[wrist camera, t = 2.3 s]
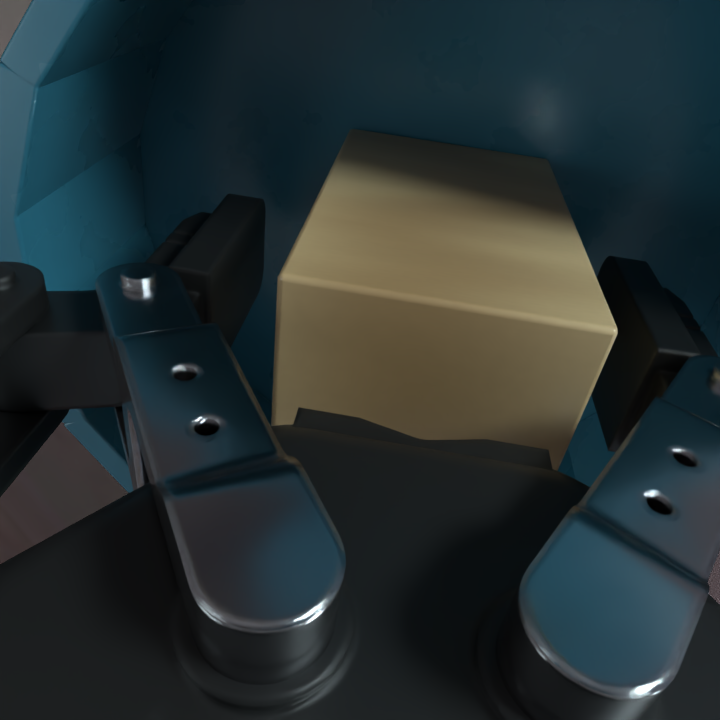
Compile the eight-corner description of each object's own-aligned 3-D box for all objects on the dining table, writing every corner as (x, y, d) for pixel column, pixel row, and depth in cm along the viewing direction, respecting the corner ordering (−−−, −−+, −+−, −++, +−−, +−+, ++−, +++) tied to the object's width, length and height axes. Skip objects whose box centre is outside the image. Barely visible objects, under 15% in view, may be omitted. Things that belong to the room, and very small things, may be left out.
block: (549, 158, 13) (621, 331, 8) (499, 327, 16) (525, 550, 10) (349, 127, 13) (275, 274, 8) (331, 299, 16) (266, 505, 10)
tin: (960, 91, 12) (1255, 189, 8) (511, 517, 21) (527, 681, 16) (257, -404, 10) (87, -690, 5) (73, 318, 18) (-50, 447, 14)
